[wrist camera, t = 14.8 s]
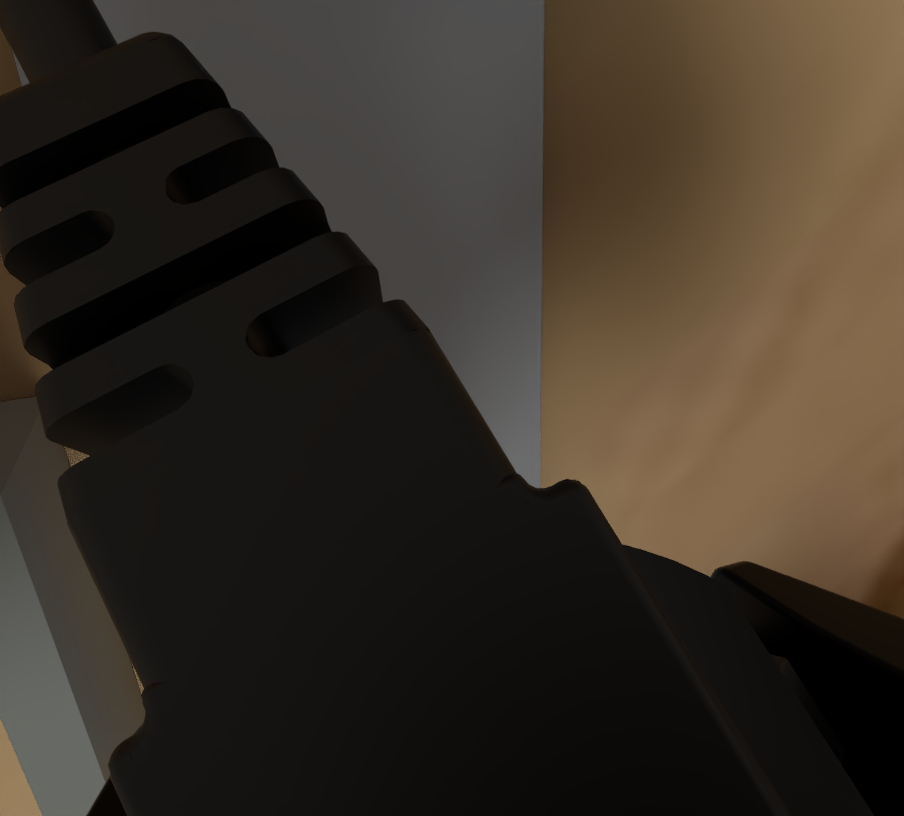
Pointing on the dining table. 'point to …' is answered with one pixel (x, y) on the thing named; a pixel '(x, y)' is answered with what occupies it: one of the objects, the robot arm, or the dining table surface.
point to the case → (54, 631)
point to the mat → (405, 158)
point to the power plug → (337, 502)
